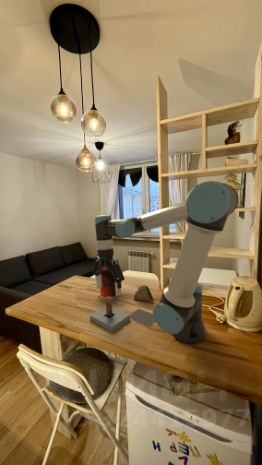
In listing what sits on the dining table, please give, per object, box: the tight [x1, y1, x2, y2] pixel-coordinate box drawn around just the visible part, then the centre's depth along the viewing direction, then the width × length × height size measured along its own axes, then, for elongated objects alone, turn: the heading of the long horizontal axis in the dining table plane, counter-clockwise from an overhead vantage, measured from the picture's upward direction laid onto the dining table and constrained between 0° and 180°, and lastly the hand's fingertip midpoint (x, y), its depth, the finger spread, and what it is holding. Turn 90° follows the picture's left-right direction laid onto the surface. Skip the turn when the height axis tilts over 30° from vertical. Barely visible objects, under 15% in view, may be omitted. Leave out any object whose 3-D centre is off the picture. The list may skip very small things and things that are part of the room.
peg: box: [105, 296, 113, 318], centre depth 96 cm, size 3×3×12 cm
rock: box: [133, 284, 153, 302], centre depth 117 cm, size 11×9×10 cm
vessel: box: [98, 266, 117, 300], centre depth 125 cm, size 14×14×20 cm
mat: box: [129, 308, 156, 328], centre depth 98 cm, size 14×10×1 cm
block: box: [89, 305, 131, 333], centre depth 97 cm, size 16×12×3 cm
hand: (108, 291), depth 95 cm, fingers open, 13 cm apart
